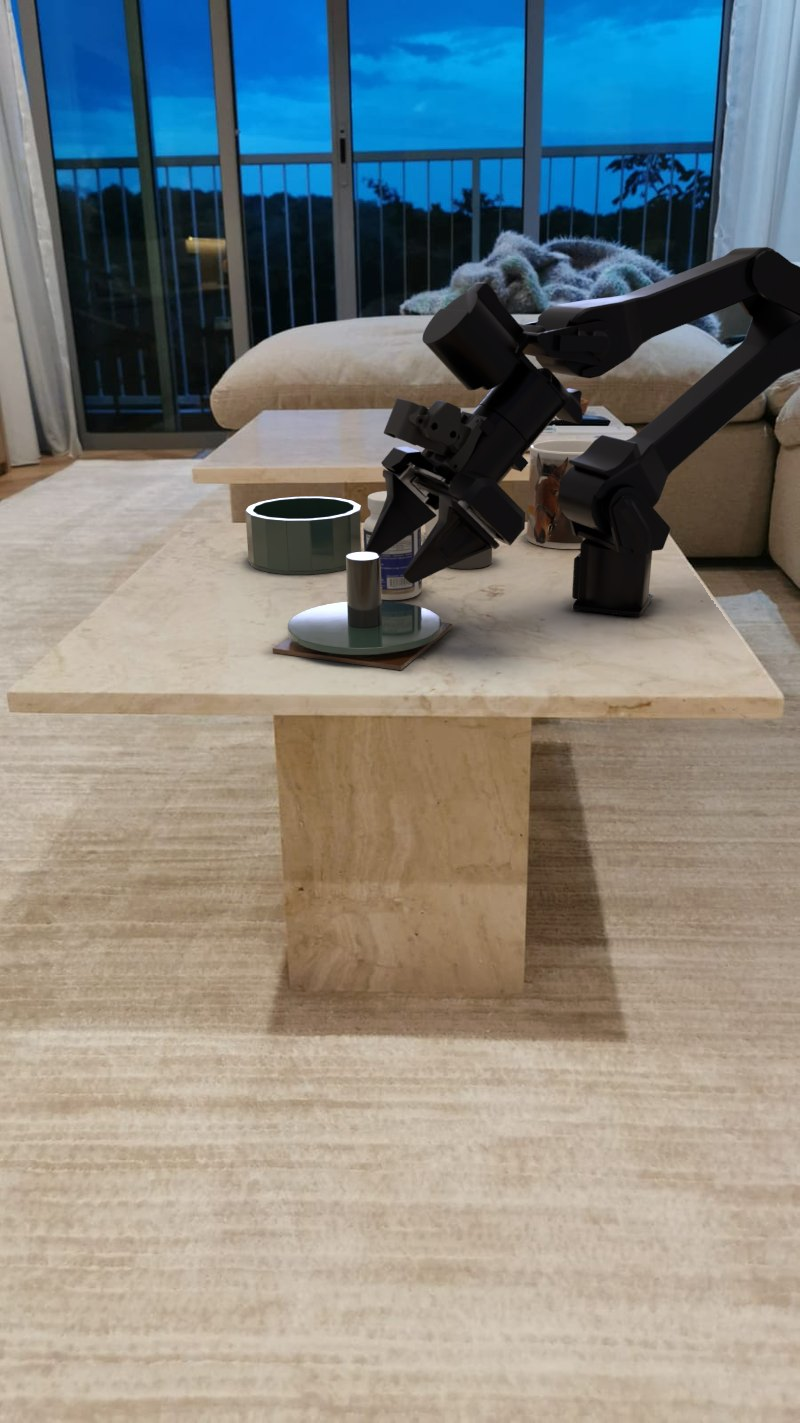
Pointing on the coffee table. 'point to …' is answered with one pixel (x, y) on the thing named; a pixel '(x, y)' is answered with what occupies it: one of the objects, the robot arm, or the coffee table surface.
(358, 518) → the tin
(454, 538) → the robot arm
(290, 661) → the coffee table surface
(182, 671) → the coffee table surface
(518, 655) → the coffee table surface
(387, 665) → the glossy brown square tile
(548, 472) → the mug
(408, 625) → the tin lid
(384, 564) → the pill bottle
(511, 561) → the coffee table surface
